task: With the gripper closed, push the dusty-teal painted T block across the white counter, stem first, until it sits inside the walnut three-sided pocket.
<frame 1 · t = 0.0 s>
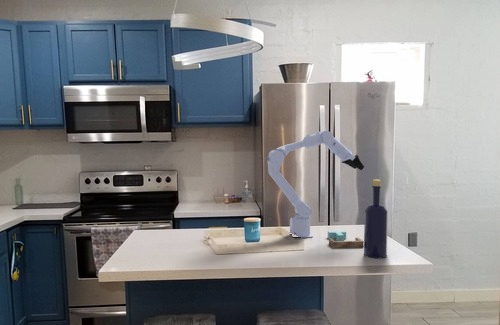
hand: (359, 167, 177), 32 cm above the kitchen island, tool tilted 50°, fingers open, 7 cm apart
bottle: (375, 255, 147), on the kitchen island
t block: (337, 238, 171), on the kitchen island
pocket: (345, 245, 160), on the kitchen island
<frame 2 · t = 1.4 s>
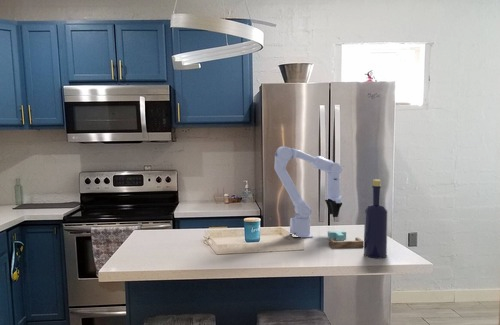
hand: (333, 215, 178), 9 cm above the kitchen island, tool pointing down, fingers open, 6 cm apart
nothing on the kitchen island moved.
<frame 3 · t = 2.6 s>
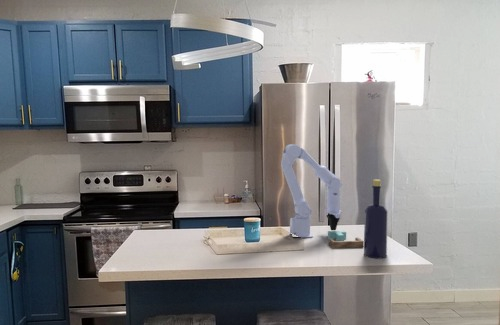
hand: (333, 229, 178), 2 cm above the kitchen island, tool pointing down, fingers closed
nothing on the kitchen island moved.
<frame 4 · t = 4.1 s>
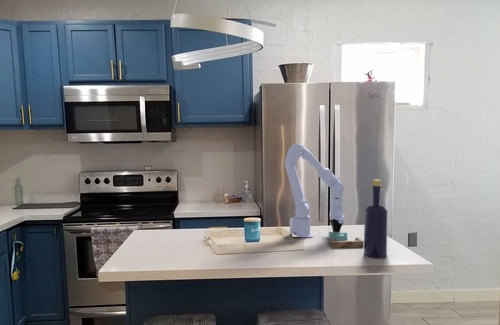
hand: (336, 235, 173), 1 cm above the kitchen island, tool pointing down, fingers closed
t block: (338, 239, 170), on the kitchen island, touching gripper
everything else where it was.
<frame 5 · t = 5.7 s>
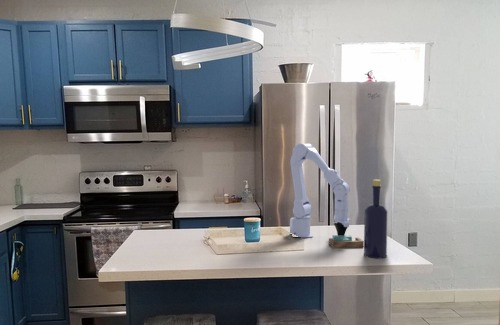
hand: (340, 239, 167), 1 cm above the kitchen island, tool pointing down, fingers closed
t block: (342, 243, 163), on the kitchen island, touching gripper, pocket
everything else where it was.
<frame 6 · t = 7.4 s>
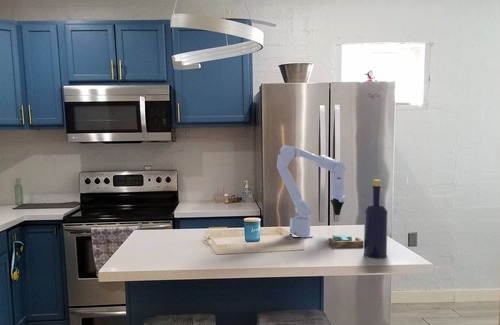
hand: (337, 214, 177), 10 cm above the kitchen island, tool pointing down, fingers closed
t block: (342, 243, 163), on the kitchen island
everything else where it was.
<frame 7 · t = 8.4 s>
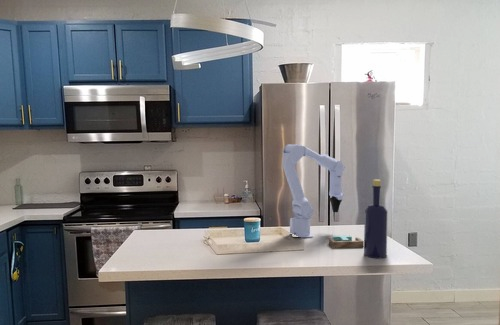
hand: (335, 212, 184), 10 cm above the kitchen island, tool pointing down, fingers closed
nothing on the kitchen island moved.
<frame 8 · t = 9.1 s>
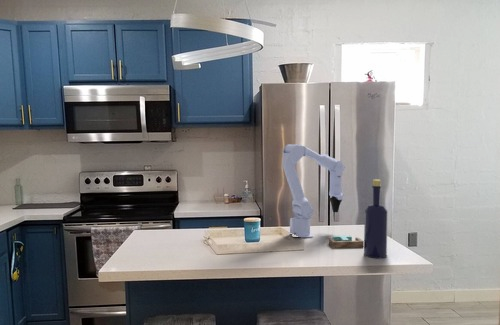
hand: (335, 212, 184), 10 cm above the kitchen island, tool pointing down, fingers closed
nothing on the kitchen island moved.
at the end: t block 0.4 cm from the target spot, on the kitchen island; t block moved 7.9 cm from its start; t block tilted 0° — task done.
